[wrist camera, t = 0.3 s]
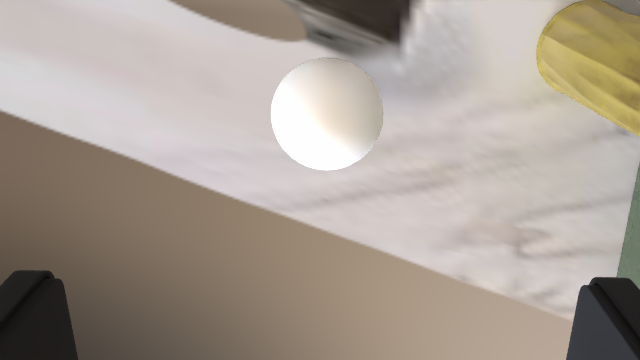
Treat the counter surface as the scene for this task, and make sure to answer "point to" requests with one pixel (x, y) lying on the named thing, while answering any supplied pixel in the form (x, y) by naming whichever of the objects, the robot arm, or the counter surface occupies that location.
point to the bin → (632, 240)
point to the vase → (595, 59)
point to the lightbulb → (327, 113)
